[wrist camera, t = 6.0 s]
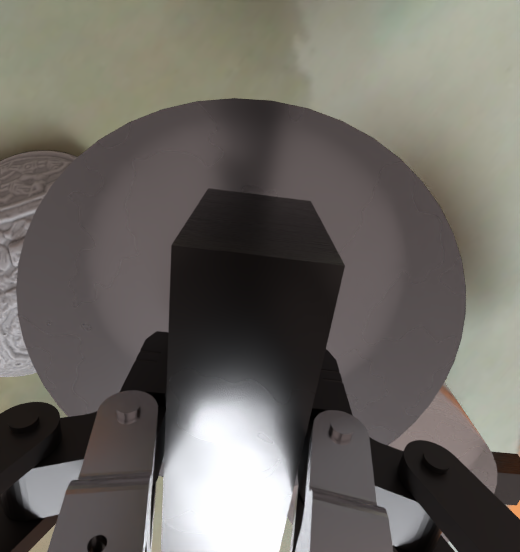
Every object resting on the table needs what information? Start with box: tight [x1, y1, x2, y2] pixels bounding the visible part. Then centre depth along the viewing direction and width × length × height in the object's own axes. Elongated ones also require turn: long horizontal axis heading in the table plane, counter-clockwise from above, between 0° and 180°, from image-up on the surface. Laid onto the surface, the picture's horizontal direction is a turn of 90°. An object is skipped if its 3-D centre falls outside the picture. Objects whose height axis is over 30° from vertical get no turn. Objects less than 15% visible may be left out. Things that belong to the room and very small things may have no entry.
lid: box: [16, 98, 466, 552], centre depth 12 cm, size 15×15×7 cm
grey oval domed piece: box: [0, 151, 77, 377], centre depth 30 cm, size 16×25×7 cm, turn 139°
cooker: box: [287, 382, 520, 542], centre depth 31 cm, size 14×20×12 cm
